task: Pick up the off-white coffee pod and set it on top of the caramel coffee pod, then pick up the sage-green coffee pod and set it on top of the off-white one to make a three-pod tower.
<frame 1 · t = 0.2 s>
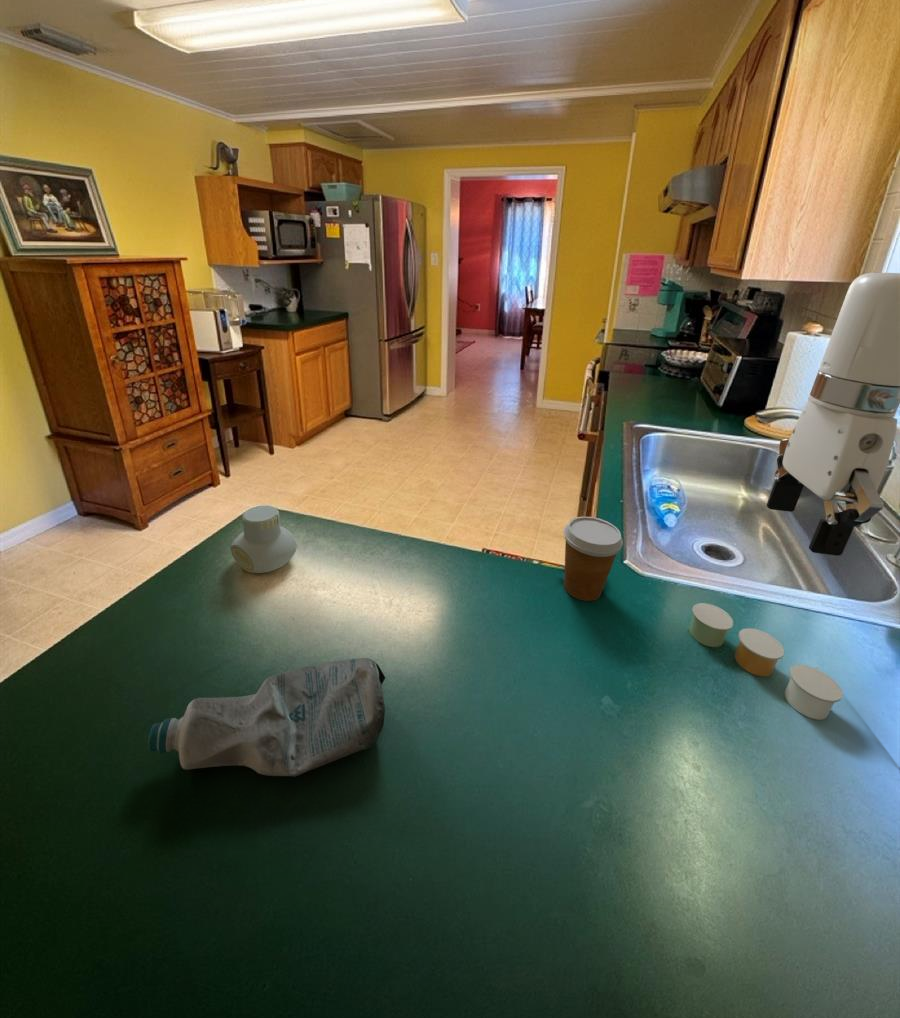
hand: (800, 529, 57), 24 cm above the kitchen counter, tool pointing down, fingers open, 9 cm apart
air freshener: (265, 562, 84), on the kitchen counter
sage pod: (705, 635, 73), on the kitchen counter
caramel pod: (753, 663, 69), on the kitchen counter
detergent: (279, 737, 54), on the kitchen counter
white pod: (805, 703, 63), on the kitchen counter
disposable coffee cup: (582, 589, 82), on the kitchen counter
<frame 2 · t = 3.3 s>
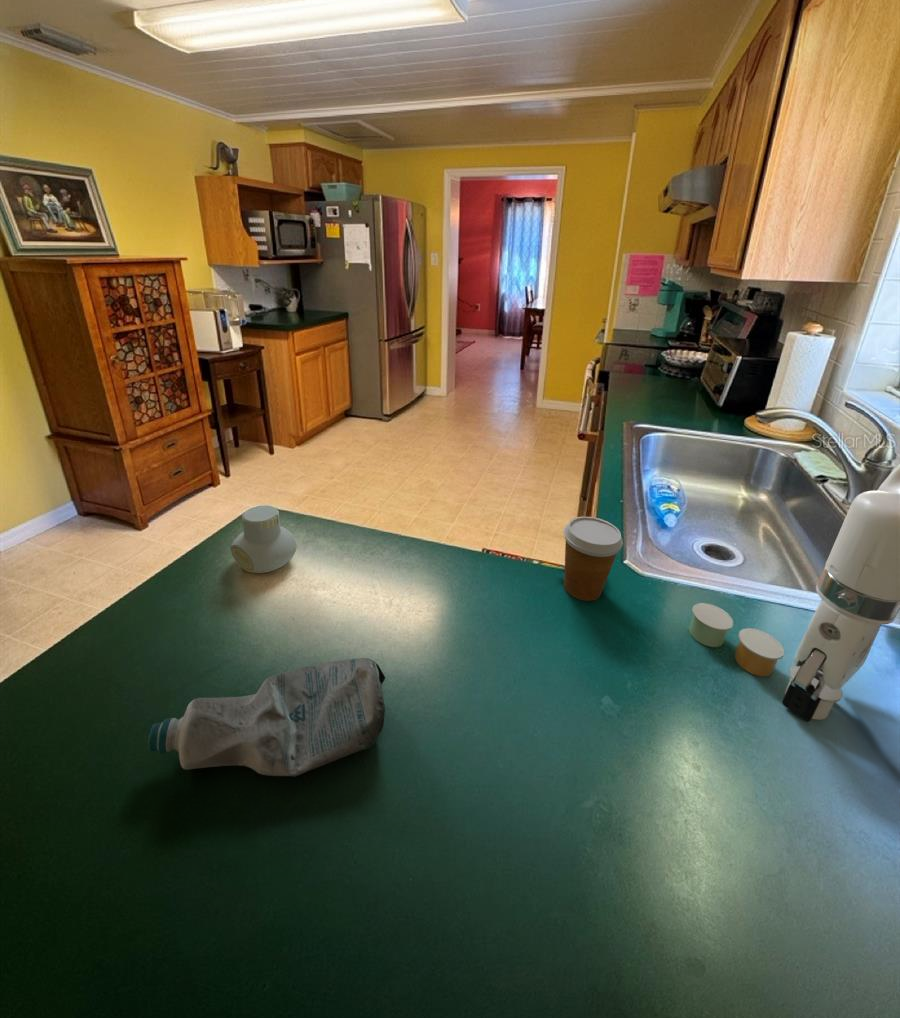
hand: (807, 700, 63), 1 cm above the kitchen counter, tool pointing down, fingers closed on white pod, 5 cm apart
white pod: (805, 703, 63), on the kitchen counter, touching gripper
everything else where it was.
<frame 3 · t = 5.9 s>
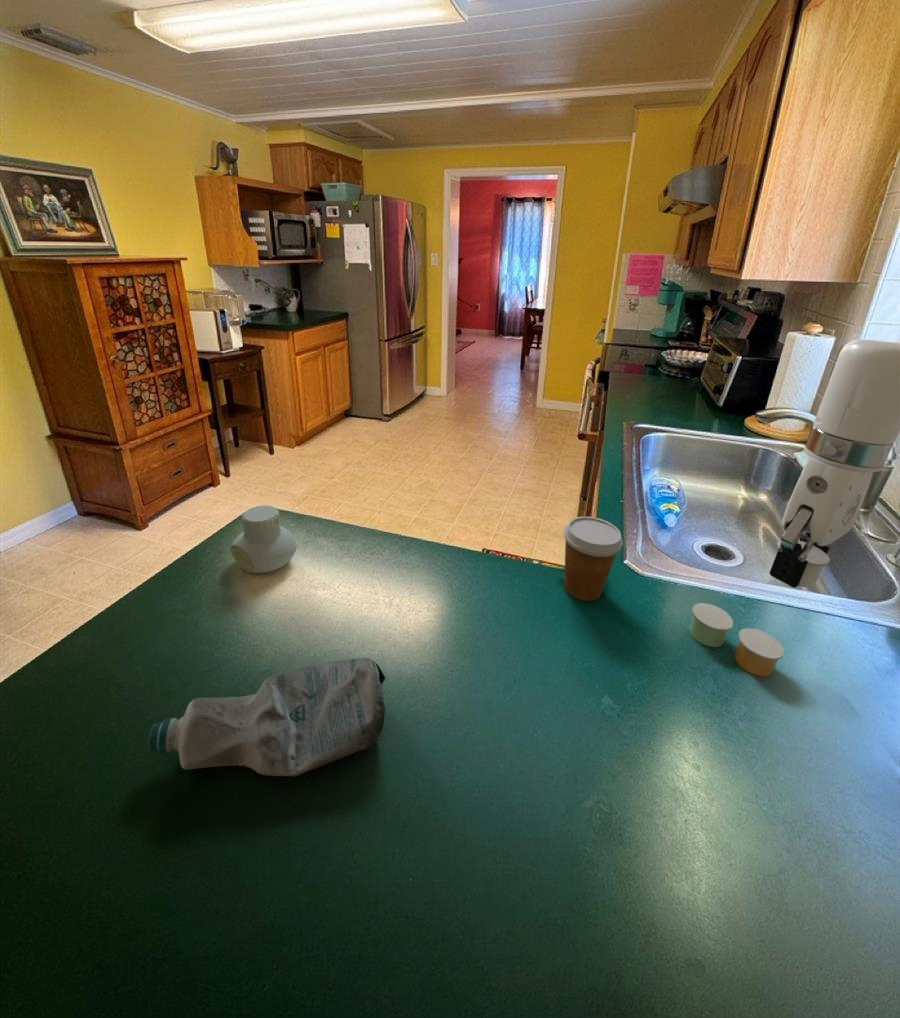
hand: (794, 572, 62), 17 cm above the kitchen counter, tool pointing down, fingers closed on white pod, 5 cm apart
white pod: (793, 575, 62), point 16 cm above the kitchen counter, touching gripper
everything else where it was.
when the fingers open (4 cm above the kitchen counter, at t = 9.0 s): white pod stays where it is, resting on caramel pod.
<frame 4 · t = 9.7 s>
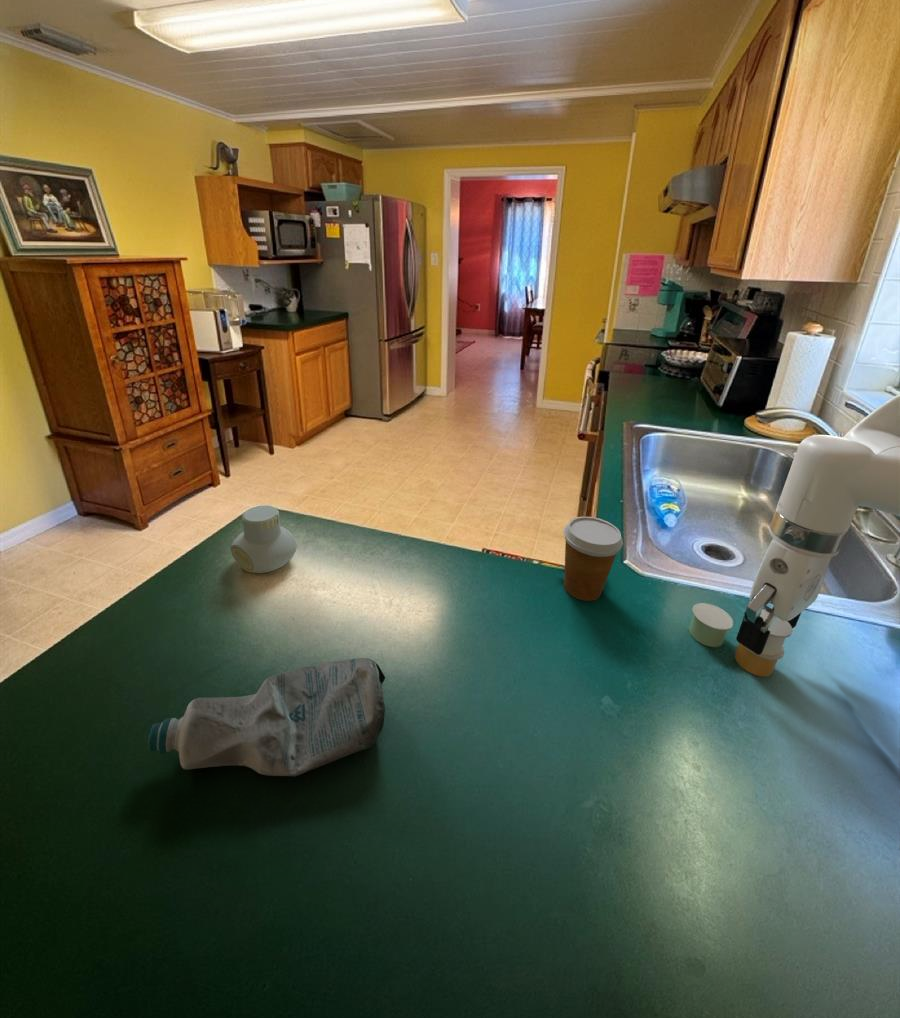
hand: (765, 633, 67), 6 cm above the kitchen counter, tool pointing down, fingers open, 9 cm apart
caramel pod: (753, 663, 69), on the kitchen counter, touching white pod
white pod: (760, 642, 67), point 4 cm above the kitchen counter, touching caramel pod
everything else where it was.
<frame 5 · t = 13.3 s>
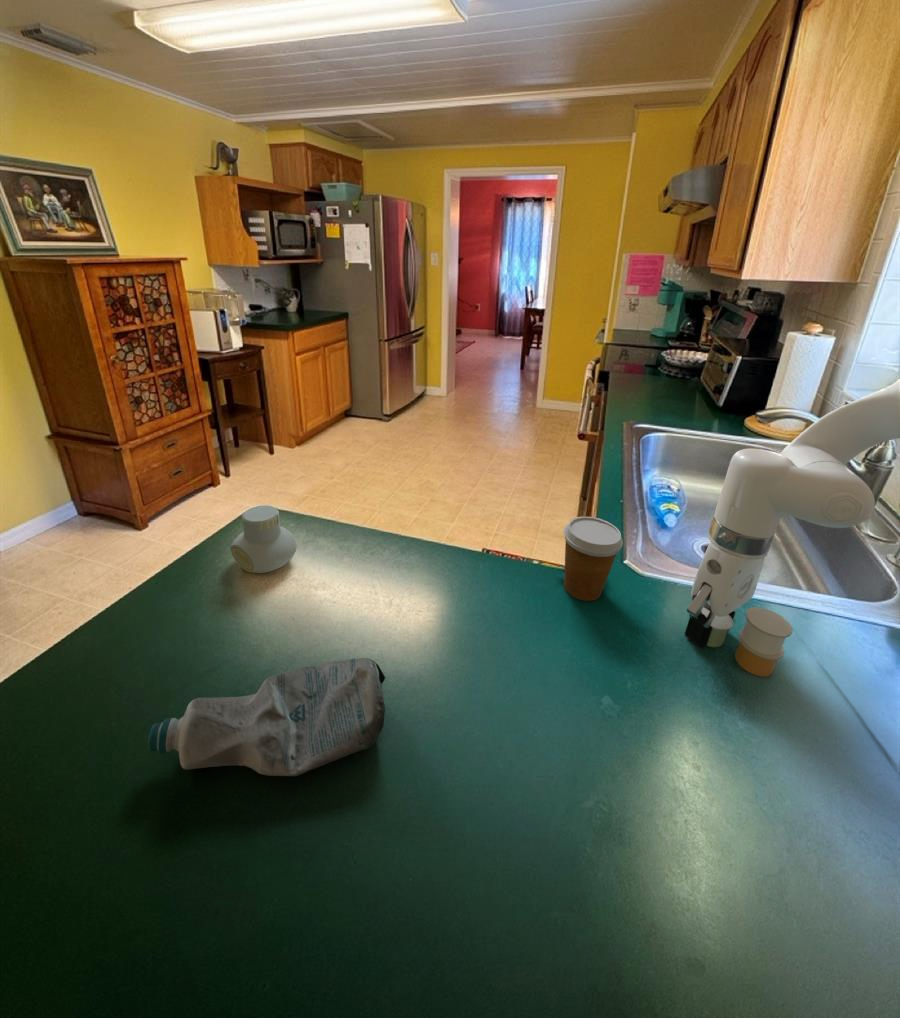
hand: (706, 632, 73), 1 cm above the kitchen counter, tool pointing down, fingers closed on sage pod, 5 cm apart
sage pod: (705, 635, 73), on the kitchen counter, touching gripper
everything else where it was.
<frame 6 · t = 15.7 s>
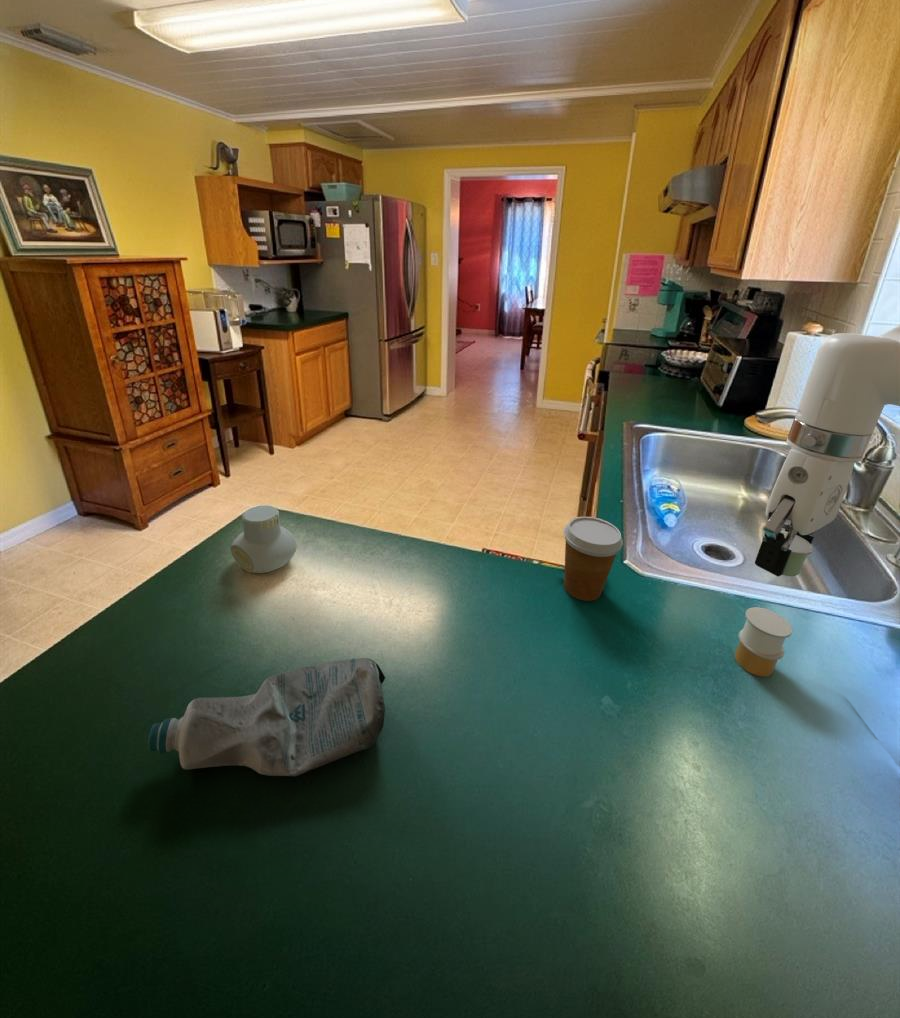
hand: (779, 562, 63), 17 cm above the kitchen counter, tool pointing down, fingers closed on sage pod, 5 cm apart
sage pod: (778, 565, 64), point 16 cm above the kitchen counter, touching gripper
everything else where it was.
when the fingers open (8 cm above the kitchen counter, at t = 18.2 s): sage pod stays where it is, resting on white pod.
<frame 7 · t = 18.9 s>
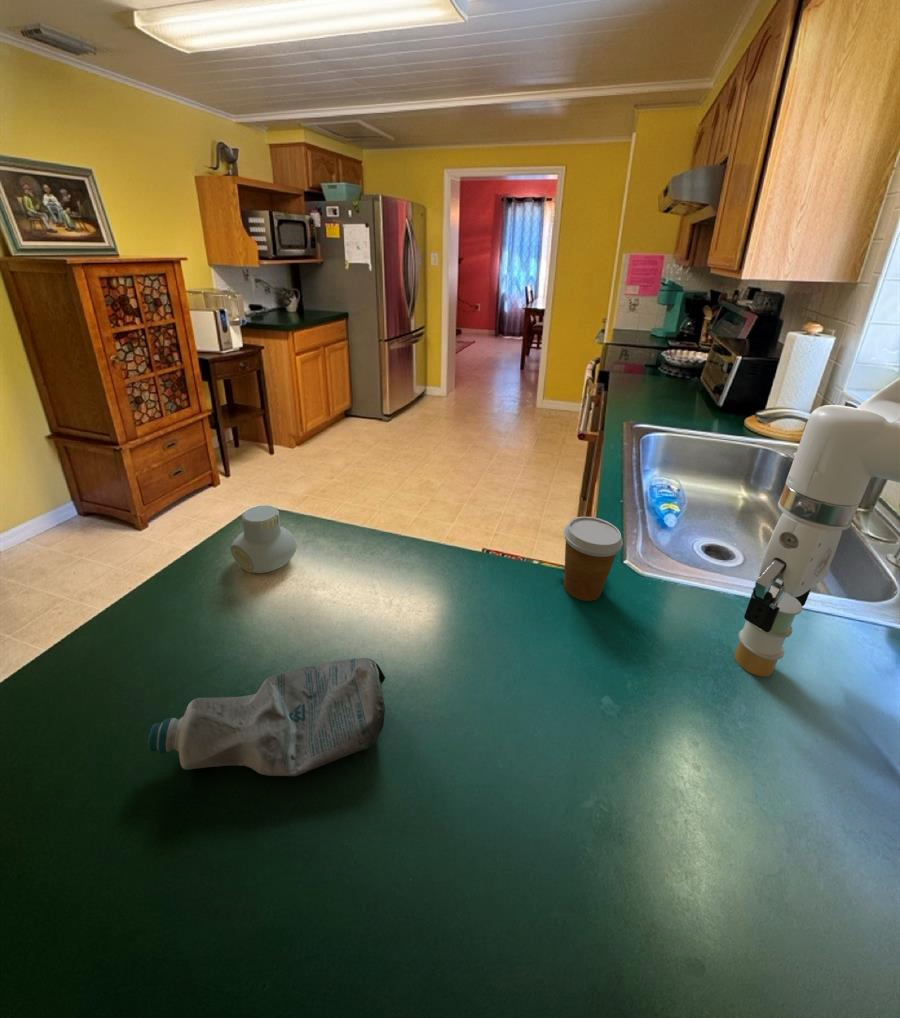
hand: (774, 612, 65), 9 cm above the kitchen counter, tool pointing down, fingers open, 9 cm apart
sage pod: (768, 621, 66), point 8 cm above the kitchen counter, touching white pod
white pod: (760, 642, 67), point 4 cm above the kitchen counter, touching caramel pod, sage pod
everything else where it was.
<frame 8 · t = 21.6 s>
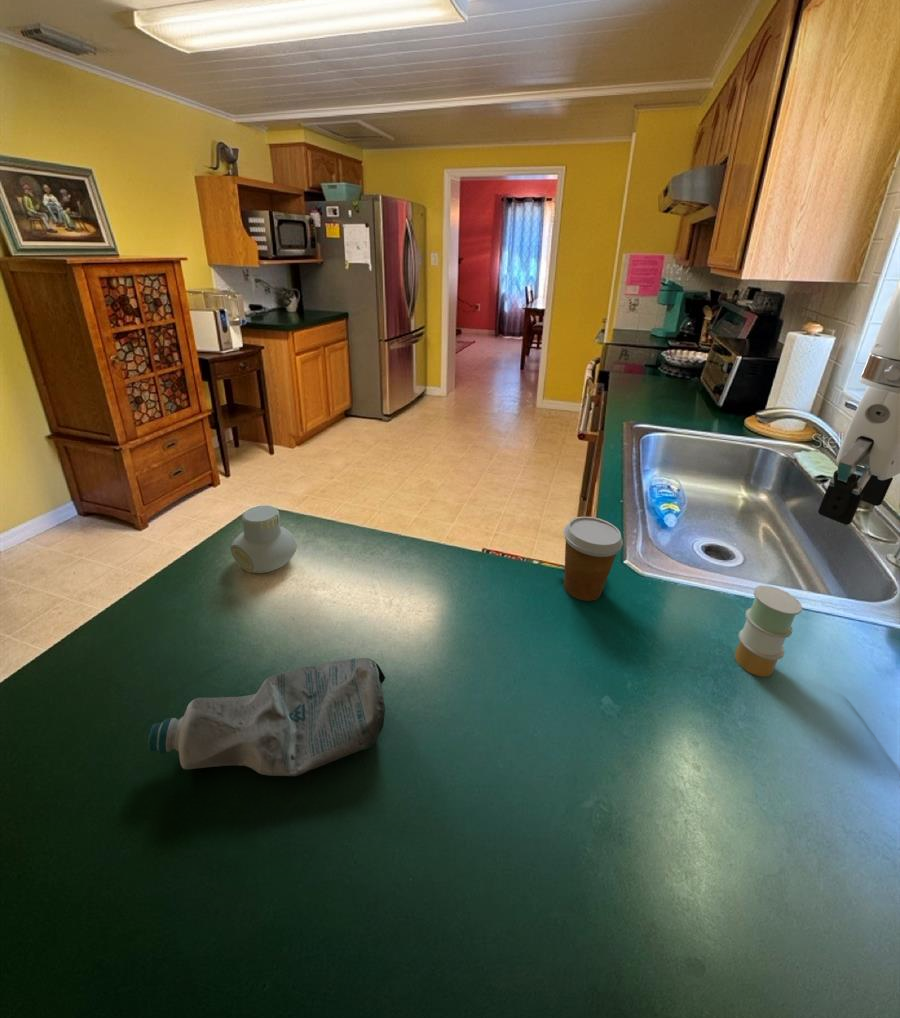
hand: (849, 509, 59), 26 cm above the kitchen counter, tool pointing down, fingers open, 9 cm apart
nothing on the kitchen counter moved.
at the end: white pod 0.1 cm off-centre on the caramel pod, point 3.9 cm above the caramel pod's base; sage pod 0.1 cm off-centre on the caramel pod, point 7.8 cm above the caramel pod's base; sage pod tilted 0° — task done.
